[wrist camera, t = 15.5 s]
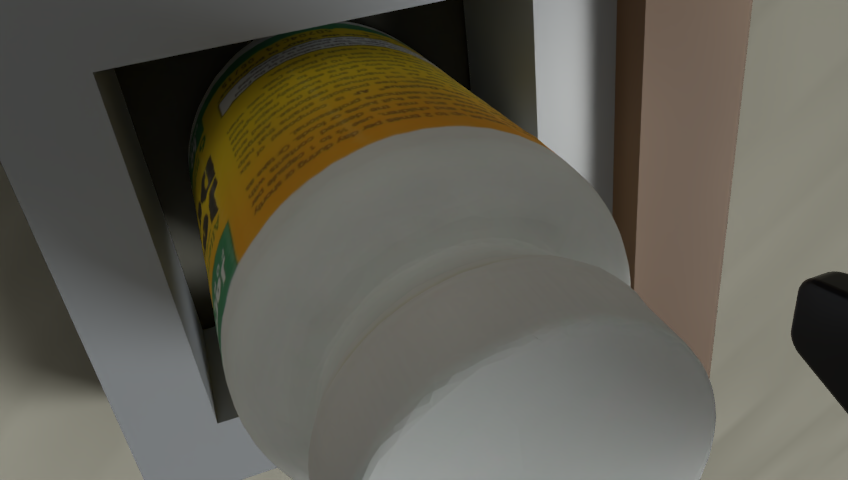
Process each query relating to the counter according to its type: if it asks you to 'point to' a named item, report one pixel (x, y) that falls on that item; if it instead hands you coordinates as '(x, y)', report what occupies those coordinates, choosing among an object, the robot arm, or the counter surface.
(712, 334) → the rail
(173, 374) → the socket block
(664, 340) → the supplement bottle
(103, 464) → the counter surface
